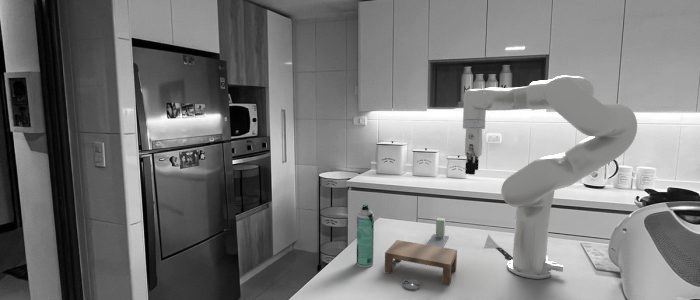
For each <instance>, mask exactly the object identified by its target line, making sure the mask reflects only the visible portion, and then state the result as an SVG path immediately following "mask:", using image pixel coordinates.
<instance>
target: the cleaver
mask: <svg viewBox="0 0 700 300" xmlns="http://www.w3.org/2000/svg"><path fill="white" fill-rule="evenodd" d="M485 240H486V241H485V243H484V246H483V249H496V250H497V251H499V252H500V253H501V254H502V256H503V257H504V259H505V260H507V261H510V260H513V255H511V254H510V253H508V252H507V251H506V250H504V249H503V248H502V247H501V246H499V245H498V244H497V243H496V241H494V239H493V238H492V237H491V235H490V233H488V235H487V237H486V239H485Z"/></svg>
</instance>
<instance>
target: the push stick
mask: <svg viewBox="0 0 700 300" xmlns="http://www.w3.org/2000/svg"><path fill="white" fill-rule="evenodd" d="M448 240H449V235H446V218H443V217H437V218H436V221H435V233H433V234H432V236H431V237H430V238H429V241H428V242H427V243H426V245H431V246H437V247H443V248H445V245H446V244H447V242H448Z"/></svg>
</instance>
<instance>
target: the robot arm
mask: <svg viewBox="0 0 700 300" xmlns="http://www.w3.org/2000/svg"><path fill="white" fill-rule="evenodd" d="M594 93H595V90H594V86H593V83H592V82H591V81H590V80H589V79H587V78H585V77H582V76H573V75H572V76H571V75H560V76H556V77H554V78H552V79H547V80H545V79H544V80H537V81H532V82H531V83H529V85H527V86H520V87H507V88H504V87H487V88H482V89H481V88H473V89H472V88H471V89H466V90H465V91H464V94H463V111H462V113H463V114H462V116H463V117H462V129H463V130H464V129H465V136H464V137H465V138H464V139H465V140H464V143H465V144H464V155H465V157H466V158H465V170H464V171H465V172H464V173H465V175H471V176H472V175H473V176H475V174H476V171H478V170H479V162H480V161H479V158H480V157H481V156H482V154H483V130H485V129H486V117H487V116H486V114H487V113H486V112H487V111H489V112H490V111H491V112H493V111H515V110H516V111H517V110H532V111H535V110H552V109H553V110H554V111H555V112H557V113H558V114H559V115H560V116H561V117H562V118H563V119H564V120H565V121H567V122H568V123H569V124H570V125H571V126H572V127H573V128H575V129H576V130H577V131H579V132H580V133H582V134H584V135H586V136H587V138H585V139H583V140H581V141H579V142H578V143H576V144H575V145H574V146H572V147H569V148H568V149H567V150H565V151H563V152H561V153H558V154H553V155H547V156H546V155H545V156H543V157H539V158H537V159H536V160H535V159H534V160H533V161H531V162H530V163H528V164H526V165H525V166H524V167H523V168H521V169H519V170H518V171H516V172H514V173H513V174H511V175H509V176H508V177H507V178H506V179H505V180H504V182H503V183H502V185H501V191H500V192H501V193H500V195H501V196H502V199H503V201H504V202H505V203H506V204H508V206H511V207H514V208H516V211H515V217H514V218H515V219H514V235H513V236H514V237H513V249H512V251H513V252H512V257H513V260H508V261H507V263H506V264H507V265H506V267H507V269H508V271H510V272H512V273H513V274H514V275H517V276H519V277H522V278H527V279H533V280H534V279H535V280H542V279H547V278H549V277H551V275H552V271H556V272H561V273H563V272H564V265H561V264H559V263H558V262H557V261H556V262H555V261H550V260H548V255H547V254H548V240H549V227H550V215H551V209H552V204H553V202H554V197H555V191H556V190H561V189H565V188H568V187H571V186H573V185H574V184H576V183H577V182H579V181H580V180H582V179H584V178H585V177H588V176H589V175H591V174H593V173H594V172H596V171H598V170H599V169H601V168H602V167H605V166H607V164H610V163H612V162H613V161H615V160H617V158H619V157H620V156H622V155H624V153H626V151H627V150H629V148H630V147H631V146H632V144H633V142H634V140H635V138H636V137H637V131H638V122H637V121H638V120H637V117H636V115H635V113H634V111H633V110H632V109H631V108H629V106H626V105H624V104H622V103H615V102H601V101H599V100H598V99H597V98H596V97H594Z"/></svg>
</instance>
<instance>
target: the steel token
mask: <svg viewBox="0 0 700 300" xmlns="http://www.w3.org/2000/svg"><path fill="white" fill-rule="evenodd" d="M402 288H404V289H405V290H408V291H417V290H419V289H420V288H421V282H420V281H418V280H416V279H411V278H410V279H407V278H406V279H404V280H403V281H402Z"/></svg>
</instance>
